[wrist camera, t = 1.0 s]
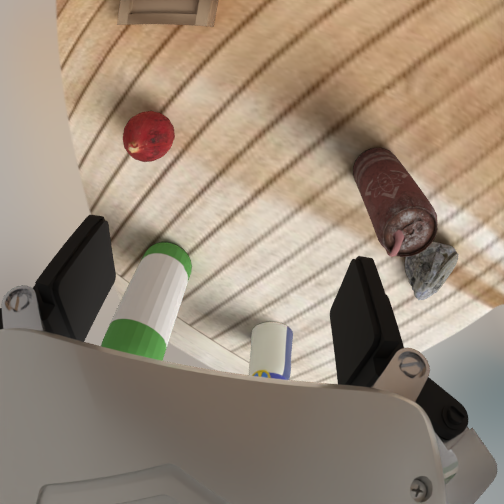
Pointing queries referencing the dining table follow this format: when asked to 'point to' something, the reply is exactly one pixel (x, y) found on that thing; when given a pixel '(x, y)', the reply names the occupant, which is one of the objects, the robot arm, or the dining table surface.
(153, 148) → the onion
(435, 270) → the fossilized seashell
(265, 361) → the white spray bottle
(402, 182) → the can
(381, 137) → the dining table surface
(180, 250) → the wine bottle
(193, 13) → the wooden square tray
